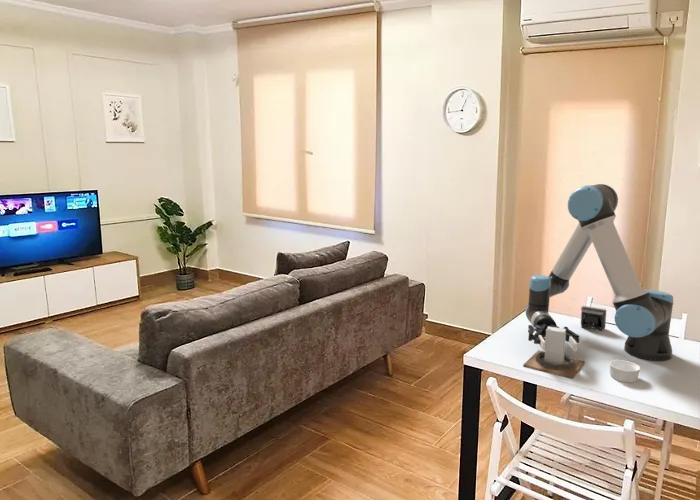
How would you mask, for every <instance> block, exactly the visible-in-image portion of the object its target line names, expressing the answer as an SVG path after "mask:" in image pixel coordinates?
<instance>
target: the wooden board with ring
mask: <svg viewBox="0 0 700 500" xmlns="http://www.w3.org/2000/svg"><path fill="white" fill-rule="evenodd" d="M544 359H545V350H539V349H538V350H537V351H535V353H533V355H532V356H531V357H529V358H528V359H527V360H526V362H524V363H523V367H525V368H529V369H533V370H537V371H541V372H544V373H549V374H553V375H557V376H561V377H564V378H569V379H574V378H575V376H576V374H577V373H578V372H579V371H580V369H581V368H582V367H583V366H584V365H585V363H586V361H585V360H583V359H578V358H574V357H570V356H568V355H567V354H565V355H564V363H563V364H558V365H556V364H552V363H548V362H545V361H544Z"/></svg>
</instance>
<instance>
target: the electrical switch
mask: <svg viewBox="0 0 700 500" xmlns="http://www.w3.org/2000/svg"><path fill="white" fill-rule="evenodd" d="M580 309H581V313H580V314H581V315H580V326H581V329H582V328H583V329H588V330H593V331H598V330H599V332H602V331H603V330H605V329H606V321H607V309H605V308H600V307H595V306H587V305H582V306H581V308H580Z"/></svg>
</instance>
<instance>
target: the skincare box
mask: <svg viewBox="0 0 700 500" xmlns="http://www.w3.org/2000/svg"><path fill="white" fill-rule="evenodd" d="M565 340H566V329H563V327H562V328H560V327H559V328H556V327H549V326H548V328H547V329H546V337H545V340H544V341H545V350H544V352H545V359H544V361H545V362H548V363H552V364H556V365H558V364H563V363H564V355H566V354H565V352H566V341H565Z"/></svg>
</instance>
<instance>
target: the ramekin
mask: <svg viewBox="0 0 700 500" xmlns="http://www.w3.org/2000/svg"><path fill="white" fill-rule="evenodd" d="M640 371H641V366H640V365H639V364H638V363H635V362H633V361H628V360H624V359H622V360H621V359H614V360H612V361H610V362H609V375H610V377H611V378H612V379H614V380H615V381H618V382H622V383H628V384H629V383H635V382H637V381H638V379H639V374H640Z"/></svg>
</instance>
